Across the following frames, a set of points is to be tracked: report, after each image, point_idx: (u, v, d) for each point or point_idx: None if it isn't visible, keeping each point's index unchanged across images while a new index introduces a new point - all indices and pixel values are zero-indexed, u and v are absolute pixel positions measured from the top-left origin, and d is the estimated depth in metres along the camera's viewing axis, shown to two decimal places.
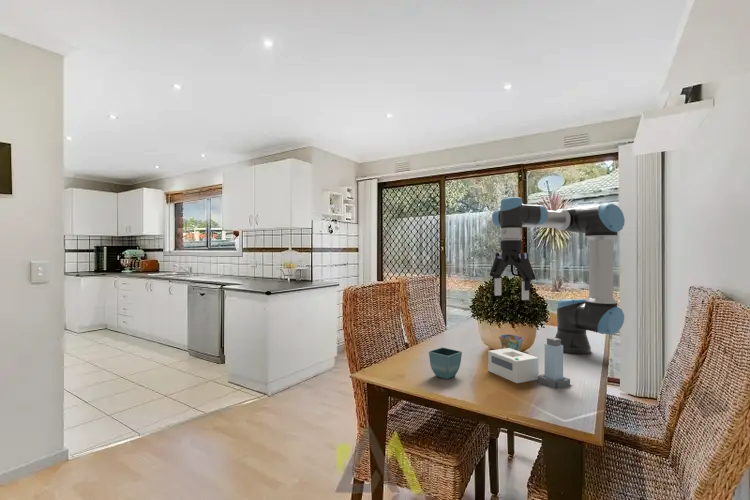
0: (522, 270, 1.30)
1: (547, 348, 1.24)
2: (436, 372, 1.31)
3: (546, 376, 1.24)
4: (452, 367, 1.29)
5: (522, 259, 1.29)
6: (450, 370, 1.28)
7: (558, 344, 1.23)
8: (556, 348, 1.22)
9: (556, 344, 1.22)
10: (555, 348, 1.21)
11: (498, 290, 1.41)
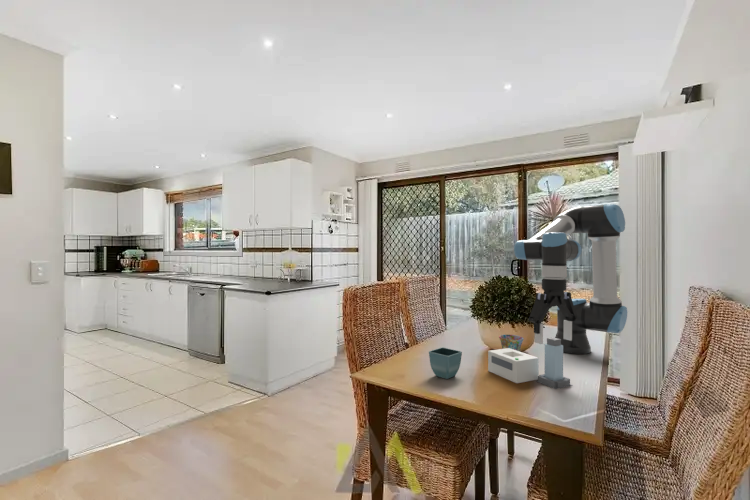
0: (539, 311, 1.22)
1: (547, 348, 1.24)
2: (436, 372, 1.31)
3: (546, 376, 1.24)
4: (452, 367, 1.29)
5: None
6: (450, 370, 1.28)
7: (558, 344, 1.23)
8: (556, 348, 1.22)
9: (556, 344, 1.22)
10: (555, 348, 1.21)
11: (566, 334, 1.27)
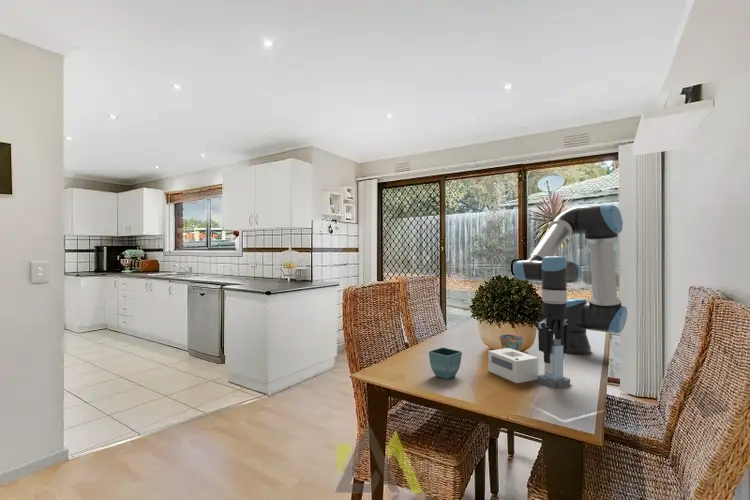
0: None
1: None
2: (436, 372, 1.31)
3: (546, 376, 1.24)
4: (452, 367, 1.29)
5: None
6: (450, 370, 1.28)
7: (558, 344, 1.23)
8: (556, 348, 1.22)
9: (556, 344, 1.22)
10: (555, 348, 1.21)
11: None
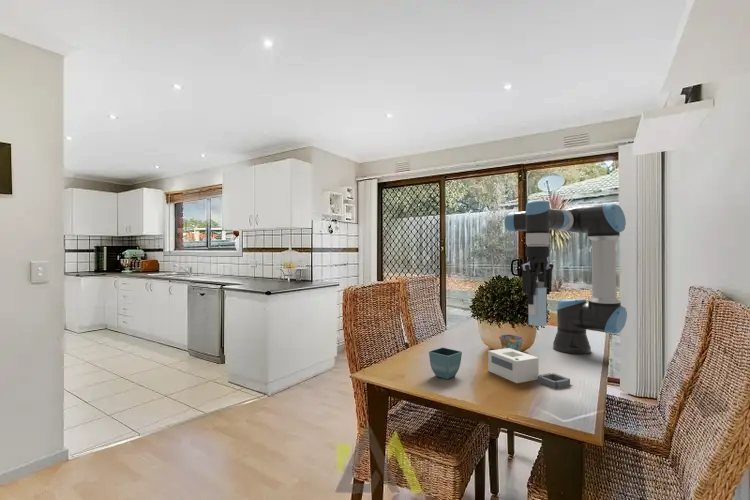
0: None
1: None
2: (436, 372, 1.31)
3: (530, 318, 1.27)
4: (452, 367, 1.29)
5: None
6: (450, 370, 1.28)
7: (541, 286, 1.26)
8: (539, 289, 1.25)
9: (539, 286, 1.26)
10: (538, 290, 1.25)
11: None
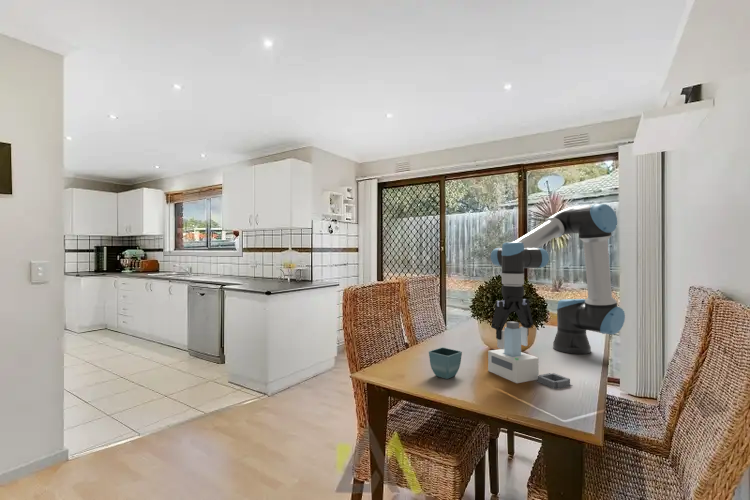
0: (500, 318, 1.31)
1: (506, 331, 1.32)
2: (436, 372, 1.31)
3: None
4: (452, 367, 1.29)
5: None
6: (450, 370, 1.28)
7: (516, 327, 1.31)
8: (514, 330, 1.30)
9: (514, 327, 1.31)
10: (513, 331, 1.30)
11: (522, 340, 1.34)
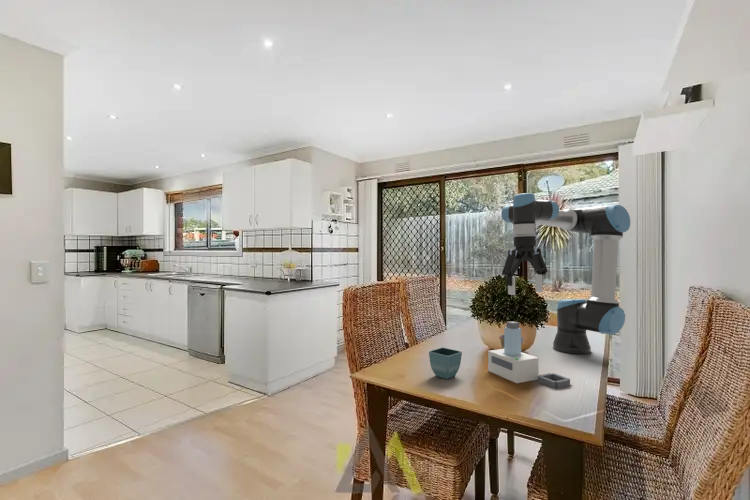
0: (511, 266, 1.34)
1: (506, 331, 1.32)
2: (436, 372, 1.31)
3: None
4: (452, 367, 1.29)
5: None
6: (450, 370, 1.28)
7: (516, 327, 1.31)
8: (514, 330, 1.30)
9: (514, 327, 1.31)
10: (513, 331, 1.30)
11: (538, 286, 1.39)
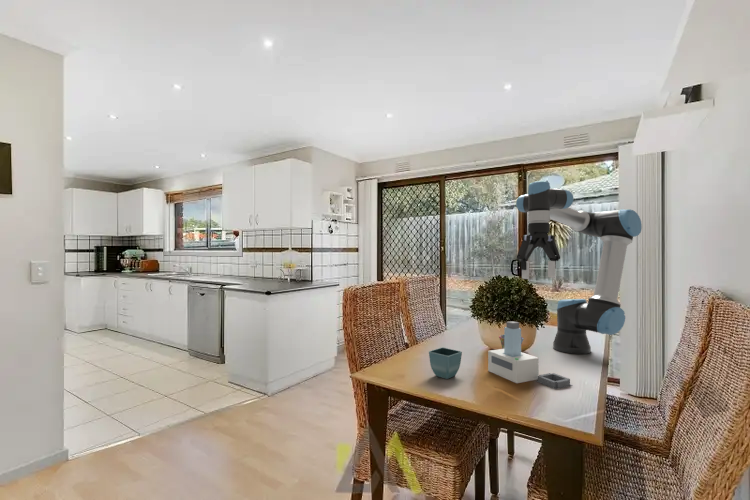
0: (526, 251, 1.38)
1: (506, 331, 1.32)
2: (436, 372, 1.31)
3: None
4: (452, 367, 1.29)
5: None
6: (450, 370, 1.28)
7: (516, 327, 1.31)
8: (514, 330, 1.30)
9: (514, 327, 1.31)
10: (513, 331, 1.30)
11: (550, 272, 1.43)
